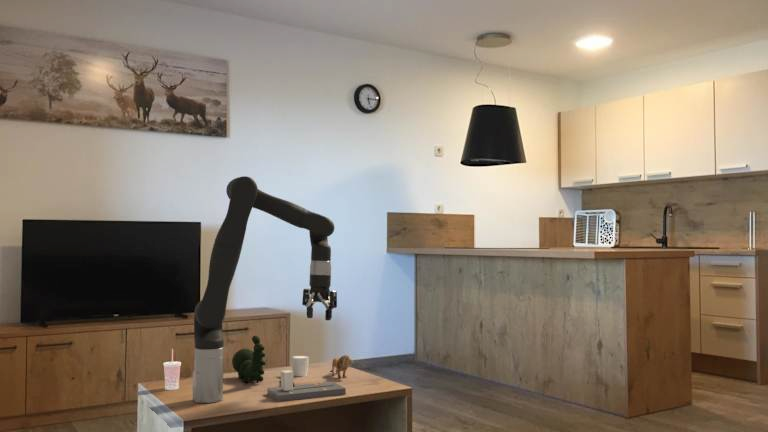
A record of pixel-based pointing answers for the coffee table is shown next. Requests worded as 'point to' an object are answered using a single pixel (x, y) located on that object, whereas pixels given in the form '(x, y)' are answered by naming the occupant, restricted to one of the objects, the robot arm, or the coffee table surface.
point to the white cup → (300, 365)
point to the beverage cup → (172, 374)
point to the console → (306, 391)
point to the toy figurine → (250, 362)
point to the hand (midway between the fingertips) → (318, 319)
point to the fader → (286, 380)
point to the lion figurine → (341, 365)
